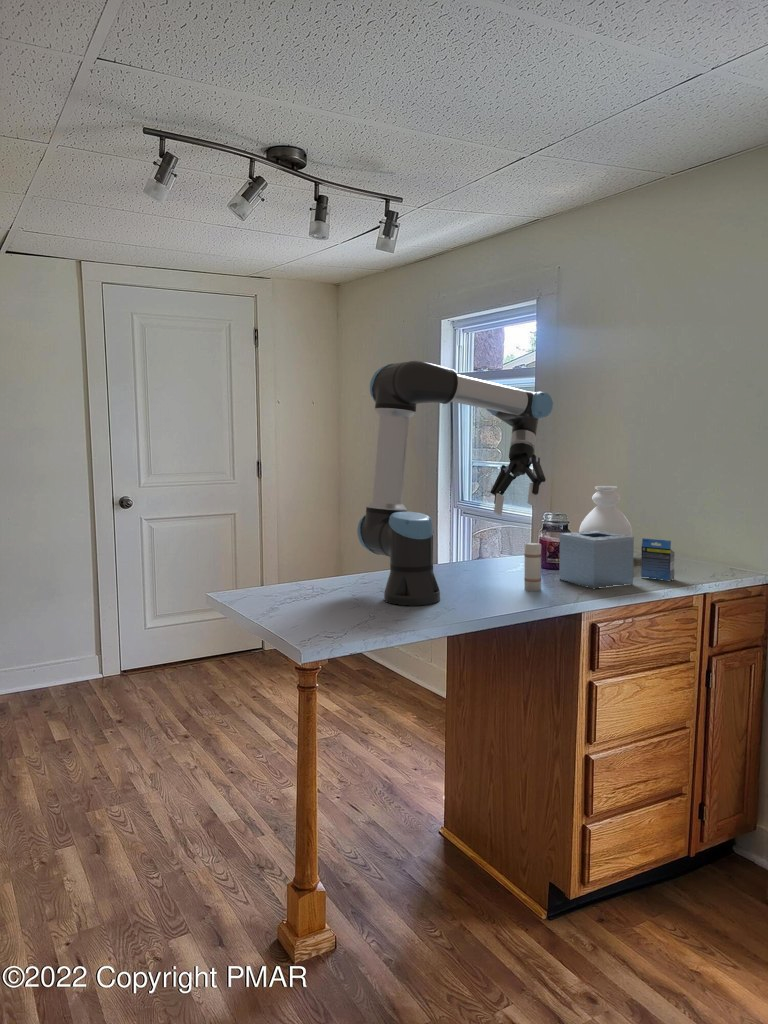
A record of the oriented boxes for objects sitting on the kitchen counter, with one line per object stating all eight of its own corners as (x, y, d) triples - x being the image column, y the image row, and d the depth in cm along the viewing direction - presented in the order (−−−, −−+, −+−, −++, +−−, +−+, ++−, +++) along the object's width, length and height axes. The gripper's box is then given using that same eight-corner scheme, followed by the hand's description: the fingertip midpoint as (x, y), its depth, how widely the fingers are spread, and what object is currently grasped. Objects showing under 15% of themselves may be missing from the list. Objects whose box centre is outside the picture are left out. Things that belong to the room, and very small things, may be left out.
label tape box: (674, 579, 220) (675, 538, 218) (670, 581, 216) (671, 540, 215) (645, 576, 225) (646, 536, 224) (640, 578, 222) (641, 538, 221)
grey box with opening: (593, 589, 208) (594, 540, 207) (559, 579, 223) (559, 533, 221) (632, 584, 213) (633, 536, 212) (596, 575, 228) (597, 530, 227)
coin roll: (530, 591, 207) (530, 546, 205) (521, 588, 211) (521, 543, 209) (544, 590, 208) (544, 544, 207) (534, 587, 213) (535, 542, 211)
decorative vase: (625, 553, 267) (626, 484, 264) (637, 561, 249) (638, 488, 247) (575, 553, 269) (575, 485, 266) (583, 562, 251) (584, 488, 248)
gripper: (561, 441, 222) (555, 505, 213) (501, 463, 241) (492, 521, 232) (545, 431, 218) (537, 495, 209) (485, 453, 237) (476, 512, 229)
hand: (514, 509), depth 221 cm, fingers open, 13 cm apart
